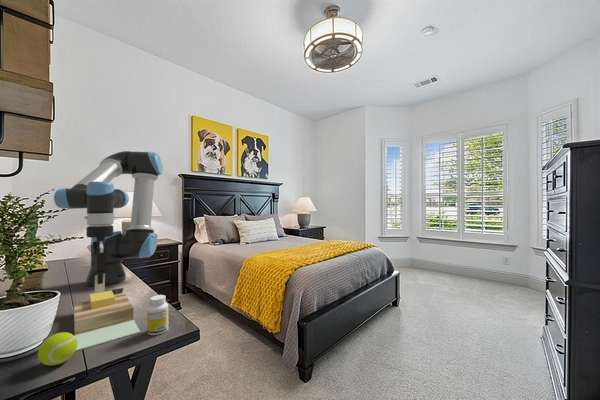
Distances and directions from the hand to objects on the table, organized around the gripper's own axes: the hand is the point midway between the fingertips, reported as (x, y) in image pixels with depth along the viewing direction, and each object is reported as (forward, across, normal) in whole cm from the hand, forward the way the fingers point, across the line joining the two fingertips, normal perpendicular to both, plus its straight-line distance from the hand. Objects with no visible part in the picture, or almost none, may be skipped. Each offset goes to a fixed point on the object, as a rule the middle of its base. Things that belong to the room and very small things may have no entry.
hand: (99, 292), depth 91 cm
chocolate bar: (+6, -11, +3) cm, 13 cm away
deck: (+6, +10, 0) cm, 11 cm away
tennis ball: (+6, +33, -10) cm, 35 cm away
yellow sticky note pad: (+2, +7, 0) cm, 7 cm away
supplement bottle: (+6, +32, +11) cm, 34 cm away
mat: (+6, +24, 0) cm, 25 cm away
